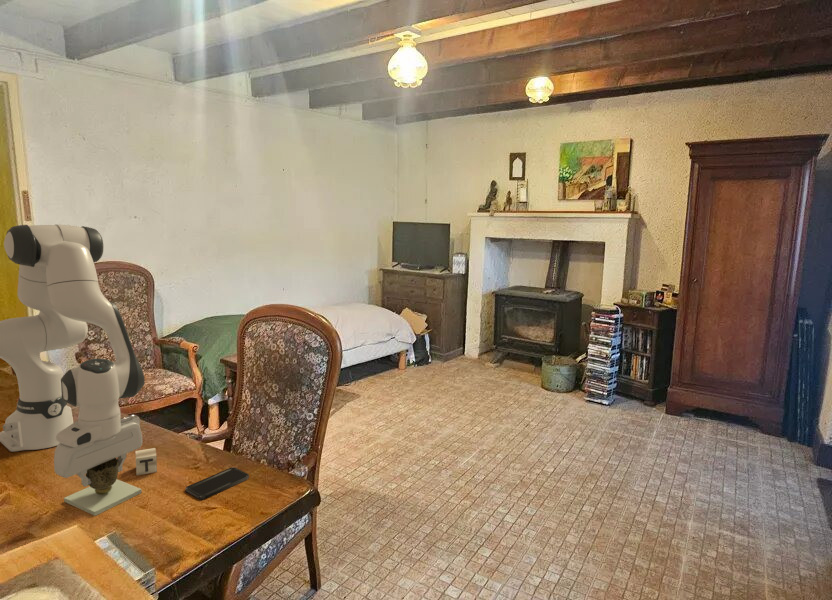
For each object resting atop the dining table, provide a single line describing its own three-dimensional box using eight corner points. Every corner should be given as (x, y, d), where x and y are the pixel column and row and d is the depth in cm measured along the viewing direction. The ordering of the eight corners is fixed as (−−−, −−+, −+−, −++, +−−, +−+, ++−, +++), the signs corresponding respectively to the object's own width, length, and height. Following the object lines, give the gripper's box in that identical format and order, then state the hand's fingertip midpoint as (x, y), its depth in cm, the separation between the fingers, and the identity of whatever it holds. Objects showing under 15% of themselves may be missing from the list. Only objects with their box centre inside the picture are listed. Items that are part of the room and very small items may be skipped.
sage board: (64, 501, 125) (64, 497, 125) (111, 480, 136) (111, 476, 136) (94, 515, 120) (94, 512, 120) (141, 492, 131) (141, 489, 131)
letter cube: (136, 467, 144) (135, 451, 143) (156, 464, 146) (155, 447, 145) (136, 476, 139) (135, 458, 138) (157, 472, 142) (156, 455, 141)
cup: (104, 502, 124) (102, 471, 122) (78, 497, 125) (76, 467, 124) (127, 486, 131) (125, 457, 130) (102, 482, 132) (100, 453, 131)
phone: (183, 487, 133) (233, 466, 145) (183, 491, 133) (233, 470, 146) (201, 498, 129) (250, 475, 141) (201, 502, 129) (250, 479, 141)
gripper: (131, 409, 136) (133, 458, 138) (48, 437, 118) (51, 492, 120) (147, 414, 133) (148, 464, 136) (64, 443, 115) (68, 500, 117)
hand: (102, 478), depth 128 cm, fingers closed on cup, 6 cm apart
